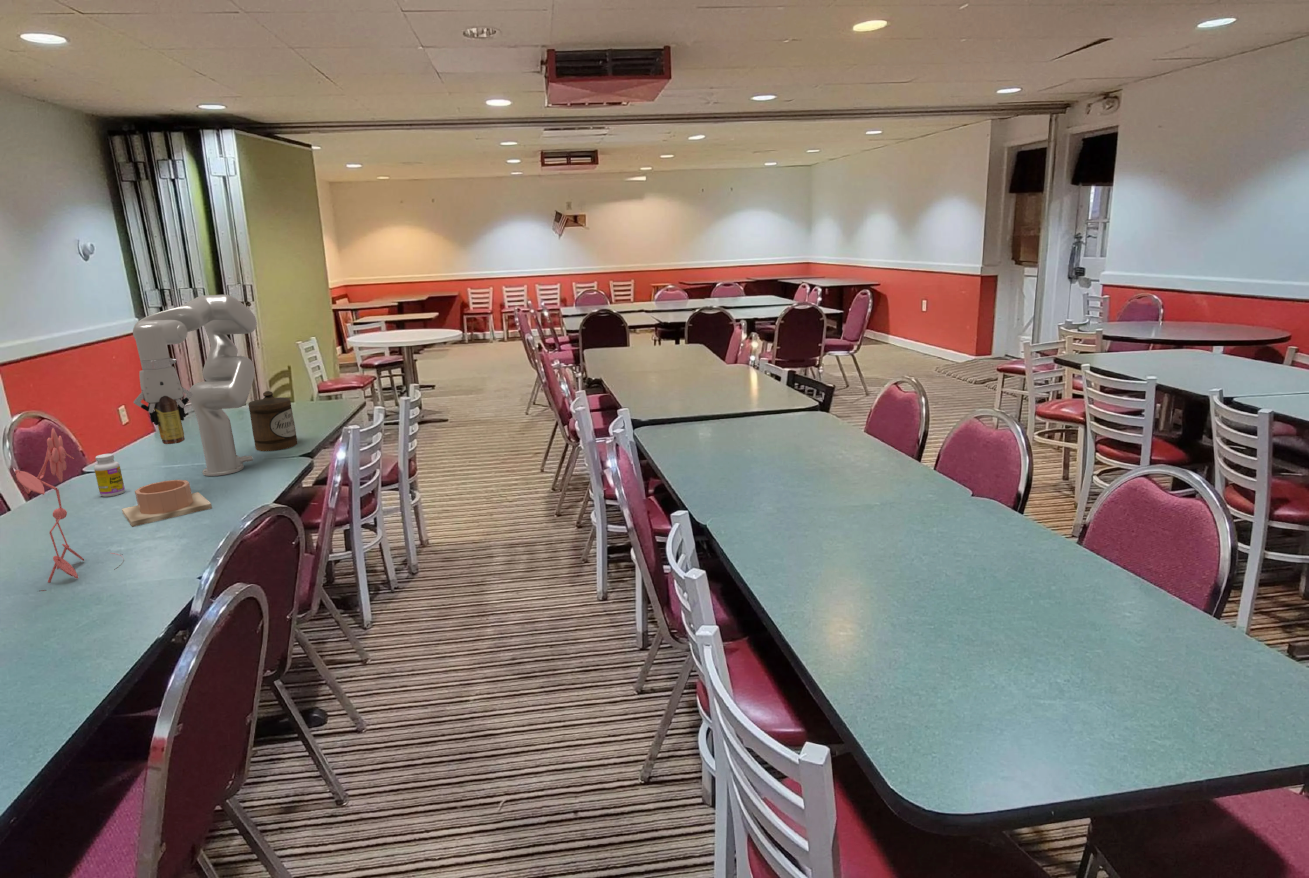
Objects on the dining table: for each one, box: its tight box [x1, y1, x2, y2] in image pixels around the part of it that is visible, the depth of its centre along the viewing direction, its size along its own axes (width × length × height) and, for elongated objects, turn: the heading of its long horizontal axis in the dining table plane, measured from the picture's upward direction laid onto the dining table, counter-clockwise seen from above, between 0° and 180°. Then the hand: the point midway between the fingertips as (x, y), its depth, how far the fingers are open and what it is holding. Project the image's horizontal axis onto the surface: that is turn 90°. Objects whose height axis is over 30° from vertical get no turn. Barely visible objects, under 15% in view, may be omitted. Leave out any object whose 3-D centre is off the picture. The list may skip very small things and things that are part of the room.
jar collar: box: [134, 479, 193, 514], centre depth 220 cm, size 13×13×6 cm
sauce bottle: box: [154, 382, 186, 445], centre depth 230 cm, size 7×6×20 cm
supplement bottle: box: [93, 453, 126, 498], centre depth 238 cm, size 7×7×13 cm
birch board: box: [121, 491, 213, 528], centre depth 221 cm, size 20×16×2 cm
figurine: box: [14, 427, 125, 592], centre depth 177 cm, size 15×26×35 cm, turn 27°
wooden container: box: [248, 390, 298, 452], centre depth 289 cm, size 15×15×22 cm
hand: (169, 421), depth 231 cm, fingers closed on sauce bottle, 6 cm apart
